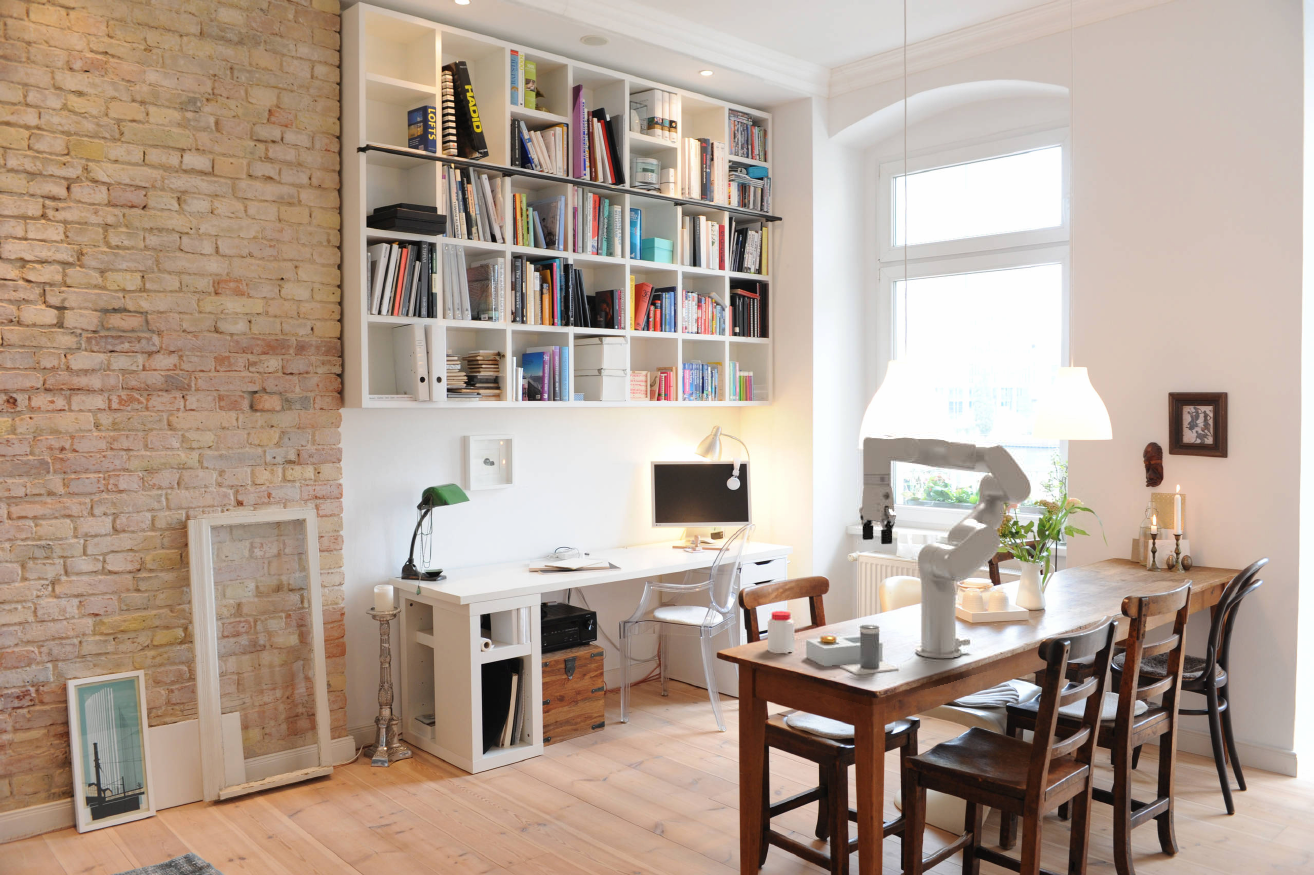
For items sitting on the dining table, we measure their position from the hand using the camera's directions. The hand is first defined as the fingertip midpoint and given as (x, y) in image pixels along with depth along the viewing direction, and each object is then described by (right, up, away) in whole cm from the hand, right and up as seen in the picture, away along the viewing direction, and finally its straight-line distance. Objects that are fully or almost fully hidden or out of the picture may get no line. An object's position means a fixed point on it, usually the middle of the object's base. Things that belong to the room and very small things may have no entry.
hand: (877, 541), depth 283 cm
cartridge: (-4, -33, -8) cm, 34 cm away
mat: (-4, -34, -8) cm, 35 cm away
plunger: (-13, -33, +1) cm, 36 cm away
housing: (-9, -33, +3) cm, 35 cm away
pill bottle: (-25, -33, +13) cm, 44 cm away
